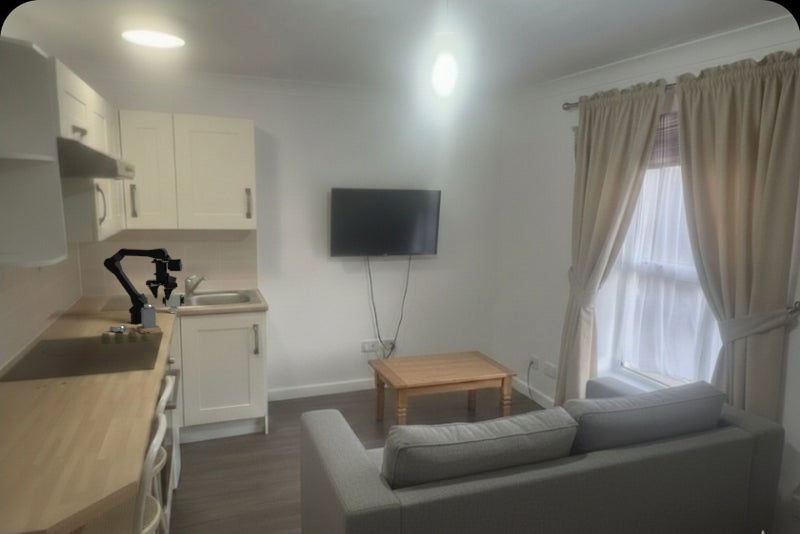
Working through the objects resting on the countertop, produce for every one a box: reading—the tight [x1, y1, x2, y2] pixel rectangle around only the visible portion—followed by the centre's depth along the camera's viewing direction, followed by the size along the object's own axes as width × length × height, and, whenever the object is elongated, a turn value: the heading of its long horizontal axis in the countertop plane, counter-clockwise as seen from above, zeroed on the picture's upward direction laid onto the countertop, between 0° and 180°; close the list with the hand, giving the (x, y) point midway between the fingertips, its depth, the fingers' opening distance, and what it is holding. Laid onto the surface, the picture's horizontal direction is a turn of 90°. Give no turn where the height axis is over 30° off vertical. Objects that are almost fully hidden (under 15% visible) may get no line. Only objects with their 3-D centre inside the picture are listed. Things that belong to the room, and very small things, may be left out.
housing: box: [141, 302, 157, 329], centre depth 262 cm, size 4×6×12 cm
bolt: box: [109, 324, 127, 333], centre depth 258 cm, size 7×4×4 cm, turn 83°
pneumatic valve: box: [162, 293, 186, 315], centre depth 305 cm, size 6×12×12 cm, turn 106°
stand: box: [136, 324, 162, 334], centre depth 262 cm, size 9×9×2 cm
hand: (161, 299), depth 280 cm, fingers open, 9 cm apart
